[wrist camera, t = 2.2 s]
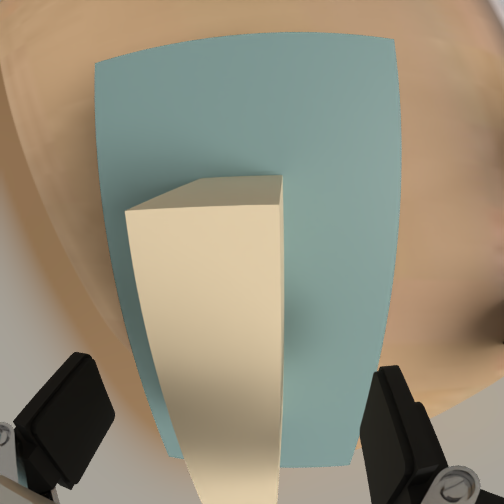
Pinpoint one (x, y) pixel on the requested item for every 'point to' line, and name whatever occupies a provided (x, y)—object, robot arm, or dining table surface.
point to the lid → (253, 243)
